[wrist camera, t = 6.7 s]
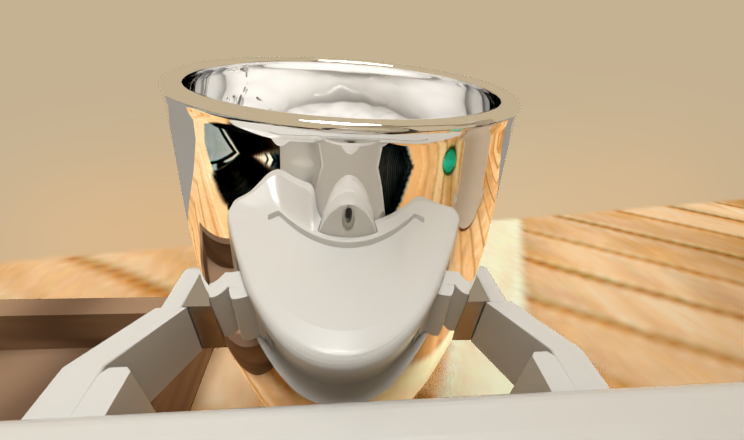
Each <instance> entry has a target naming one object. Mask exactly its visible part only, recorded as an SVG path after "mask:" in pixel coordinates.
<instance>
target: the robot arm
mask: <svg viewBox="0 0 744 440" xmlns="http://www.w3.org/2000/svg"><path fill="white" fill-rule="evenodd" d="M452 340H471V342H472V343H473V344H474V345H475V346H476V347H477V348H478V349H479V350H480V351H481V352H482V353H483V354H484V355H485V356H486V357H487V358H488V359H489V360H490V361H491V362H492V363H493V364H494V365H495V366H496V367H497V368H498V369H499V370H500V371H501V372H502V373H503V374H504V375H505V376H506V377H507V378H508V379H509V381H510V382H511V383H512V384H513V385H514V387H513V389H512V391H511V392H510V394H500V395H481V396H463V397H444V398H425V399H406V400H388V401H369V402H350V403H331V404H312V405H293V406H274V407H255V408H236V409H217V410H198V411H179V412H160V413H156V411H155V410H154V408H153V407H152V405H151V403H150V402H151V401H152V400H153V399H154V398H155V397H156V396H157V395H158V394H159V393H160V392H161V391H162V390H163V389H164V388H165V387H166V386H167V385H168V384H169V383H170V382H171V381H172V380H173V379H174V378H175V377H176V376H177V375H178V374H179V373H180V372H181V371H182V370H183V369H184V368H185V367H186V366H187V365H188V364H189V363H190V362H191V361H192V360H193V359H194V358H195V357H196V356H197V355H198V354H199V353H200V352H201V351H202V349H203V348H220V347H227V345H226V343H225V341H224V340H223V338H222V336H221V333H220V331H219V328H218V325H217V322H216V320H215V317H214V314H213V312H212V309H211V306H210V303H209V301H208V298H207V295H206V292H205V290H204V286H203V283H202V279H201V275H200V271H199V268H187V269H186V270H185V271H184V272H183V273H182V275H181V277H180V278H179V280H178V281H177V283H176V285H175V286H174V288H173V289H172V291H171V293H170V294H169V296H168V297H167V299H166V301H165V302H164V304H163V305H162V307H161V308H155V309H153V310H152V311H150V312H149V313H147V314H145V315H144V316H142V317H141V318H139V319H138V320H136V321H135V322H133V323H131V324H130V325H128V326H127V327H125V328H124V329H122V330H121V331H119V332H117V333H116V334H114V335H113V336H111V337H110V338H108V339H106V340H105V341H103V342H102V343H100V344H99V345H97V346H96V347H94V348H92V349H91V350H89V351H88V352H86V353H85V354H83V355H81V356H80V357H78V358H77V359H75V360H74V361H72V362H71V363H69V364H67V365H66V366H64V367H63V368H62V369H61V370H60V371H59V373H58V374H57V375H56V376H55V378H54V379H53V380H52V381H51V383H50V384H49V385H48V386H47V388H46V389H45V390H44V391H43V393H42V394H41V395H40V396H39V398H38V399H37V400H36V402H35V403H34V404H33V405H32V407H31V408H30V409H29V410H28V412H27V413H26V414H25V415H24V417H23V418H22V419H21V420H8V421H0V440H744V382H727V383H708V384H690V385H671V386H652V387H633V388H614V389H610V388H609V386H608V385H607V384H606V382H605V381H604V379H603V378H602V377H601V375H600V374H599V373H598V371H597V370H596V368H595V367H594V366H593V364H592V363H591V362H590V360H589V359H588V357H587V356H586V355H585V353H584V352H583V350H582V349H581V348H579V347H578V346H576V345H575V344H573V343H572V342H570V341H569V340H567V339H566V338H564V337H563V336H561V335H560V334H558V333H557V332H555V331H554V330H552V329H551V328H549V327H548V326H546V325H545V324H543V323H542V322H540V321H539V320H538V319H536V318H535V317H533V316H532V315H530V314H529V313H527V312H526V311H524V310H523V309H521V308H520V307H518V306H517V305H515V304H514V303H512V302H507V301H506V299H505V298H504V296H503V294H502V293H501V291H500V289H499V288H498V286H497V284H496V283H495V281H494V279H493V278H492V276H491V274H490V273H489V271H488V269H487V268H486V267H484V266H480V267H479V268H478V272H477V275H476V279H475V282H474V285H473V289H472V292H471V294H470V297H469V299H468V302H467V304H466V307H465V309H464V312H463V314H462V317H461V319H460V322H459V324H458V327H457V329H456V332H455V334H454V336H453V338H452Z"/></svg>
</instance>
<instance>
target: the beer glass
mask: <svg viewBox="0 0 744 440" xmlns="http://www.w3.org/2000/svg"><path fill="white" fill-rule="evenodd" d="M158 87H159V89H160V92H161V93H162V96H163V99H164V103H165V107H166V111H167V115H168V119H169V125H170V130H171V135H172V140H173V146H174V151H175V156H176V163H177V168H178V174H179V180H180V185H181V191H182V196H183V201H184V206H185V211H186V216H187V220H188V226H189V231H190V235H191V240H192V244H193V248H194V252H195V256H196V259H197V263H198V267H199V271H200V275H201V279H202V283H203V286H204V290H205V292H206V295H207V298H208V301H209V303H210V306H211V309H212V312H213V314H214V317H215V320H216V322H217V325H218V328H219V331H220V333H221V336H222V338H223V340H224V341H225V343H226V345H227V347H228V349H229V351H230V352H231V354H232V356H233V358H234V360H235V361H236V363H237V365H238V367H239V369H240V371H241V372H242V374H243V375H244V377H245V378H246V380H247V381H248V383H249V384H250V386H251V387H252V389H253V390H254V392H255V393H256V395H257V396H258V397H259V399H260V400H261V402H262V403H263V404H264V406H265V407H274V406H293V405H312V404H331V403H350V402H369V401H388V400H406V399H415V397H416V396H417V395H418V393H419V392H420V390H421V389H422V387H423V386H424V384H425V383H426V382H427V380H428V379H429V377H430V376H431V374H432V373H433V371H434V370H435V368H436V366H437V365H438V363H439V361H440V359H441V357H442V356H443V354H444V352H445V350H446V349H447V347H448V345H449V343H450V342H451V340H452V338H453V336H454V334H455V332H456V329H457V327H458V324H459V322H460V319H461V317H462V314H463V312H464V309H465V307H466V304H467V302H468V299H469V297H470V294H471V292H472V289H473V285H474V282H475V279H476V275H477V272H478V268H479V265H480V262H481V258H482V255H483V252H484V248H485V245H486V241H487V237H488V232H489V228H490V224H491V220H492V216H493V212H494V208H495V204H496V199H497V195H498V190H499V185H500V180H501V176H502V172H503V167H504V162H505V158H506V154H507V150H508V145H509V141H510V137H511V133H512V129H513V126H514V122H515V119H516V117H517V114H518V113H519V110H520V102H519V100H518V98H517V97H516V96H515V95H514V94H512V93H511V92H509V91H508V90H506V89H504V88H502V87H499V86H497V85H494V84H492V83H489V82H486V81H482V80H479V79H475V78H471V77H467V76H463V75H459V74H454V73H449V72H444V71H439V70H434V69H428V68H421V67H414V66H407V65H400V64H391V63H384V62H374V61H362V60H350V59H336V58H316V57H246V58H231V59H230V58H229V59H219V60H210V61H202V62H196V63H191V64H186V65H182V66H179V67H176V68H173V69H171V70H169V71H167V72H165V73H164V74H163V75H162V76H161V77H160V79H159V82H158Z"/></svg>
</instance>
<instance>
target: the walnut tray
mask: <svg viewBox="0 0 744 440" xmlns="http://www.w3.org/2000/svg"><path fill="white" fill-rule="evenodd" d="M166 299H167V297H149V298H78V299H8V300H0V421H8V420H21V419H22V418H23V417H24V415H25V414H26V413H27V412H28V410H29V409H30V408H31V407H32V405H33V404H34V403H35V402H36V400H37V399H38V398H39V396H40V395H41V394H42V393H43V391H44V390H45V389H46V388H47V386H48V385H49V384H50V383H51V381H52V380H53V379H54V378H55V376H56V375H57V374H58V373H59V371H60V370H61V369H62V368H63V367H64V366H66V365H67V364H69V363H71V362H72V361H74V360H75V359H77V358H78V357H80V356H81V355H83V354H85V353H86V352H88V351H89V350H91V349H92V348H94V347H96V346H97V345H99V344H100V343H102V342H103V341H105V340H106V339H108V338H110V337H111V336H113V335H114V334H116V333H117V332H119V331H121V330H122V329H124V328H125V327H127V326H128V325H130V324H131V323H133V322H135V321H136V320H138V319H139V318H141V317H142V316H144V315H145V314H147V313H149V312H150V311H152V310H153V309H155V308H161V307H162V305H163V304H164V302H165V301H166ZM212 350H213V348H203V349H202V351H201V352H200V353H199V354H198V355H197V356H196V357H195V358H194V359H193V360H192V361H191V362H190V363H189V364H188V365H187V366H186V367H185V368H184V369H183V370H182V371H181V372H180V373H179V374H178V375H177V376H176V377H175V378H174V379H173V380H172V381H171V382H170V383H169V384H168V385H167V386H166V387H165V388H164V389H163V390H162V391H161V392H160V393H159V394H158V395H157V396H156V397H155V398H154V399H153V400H152V401H151V402H150V403H151V405H152V407H153V408H154V410H155V411H156V413H160V412H179V411H189V410H190V408H191V405H192V403H193V400H194V397H195V395H196V392H197V390H198V387H199V384H200V382H201V379H202V377H203V374H204V371H205V369H206V366H207V363H208V361H209V358H210V356H211V353H212Z"/></svg>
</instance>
